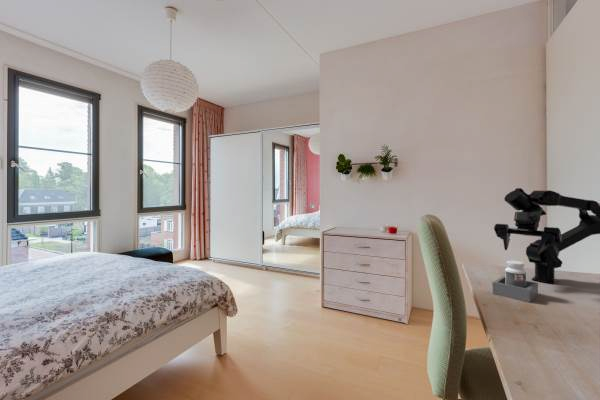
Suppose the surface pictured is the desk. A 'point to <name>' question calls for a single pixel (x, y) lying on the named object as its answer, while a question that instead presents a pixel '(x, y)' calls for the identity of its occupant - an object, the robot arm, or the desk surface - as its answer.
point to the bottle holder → (515, 290)
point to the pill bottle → (515, 274)
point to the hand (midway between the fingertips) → (520, 251)
